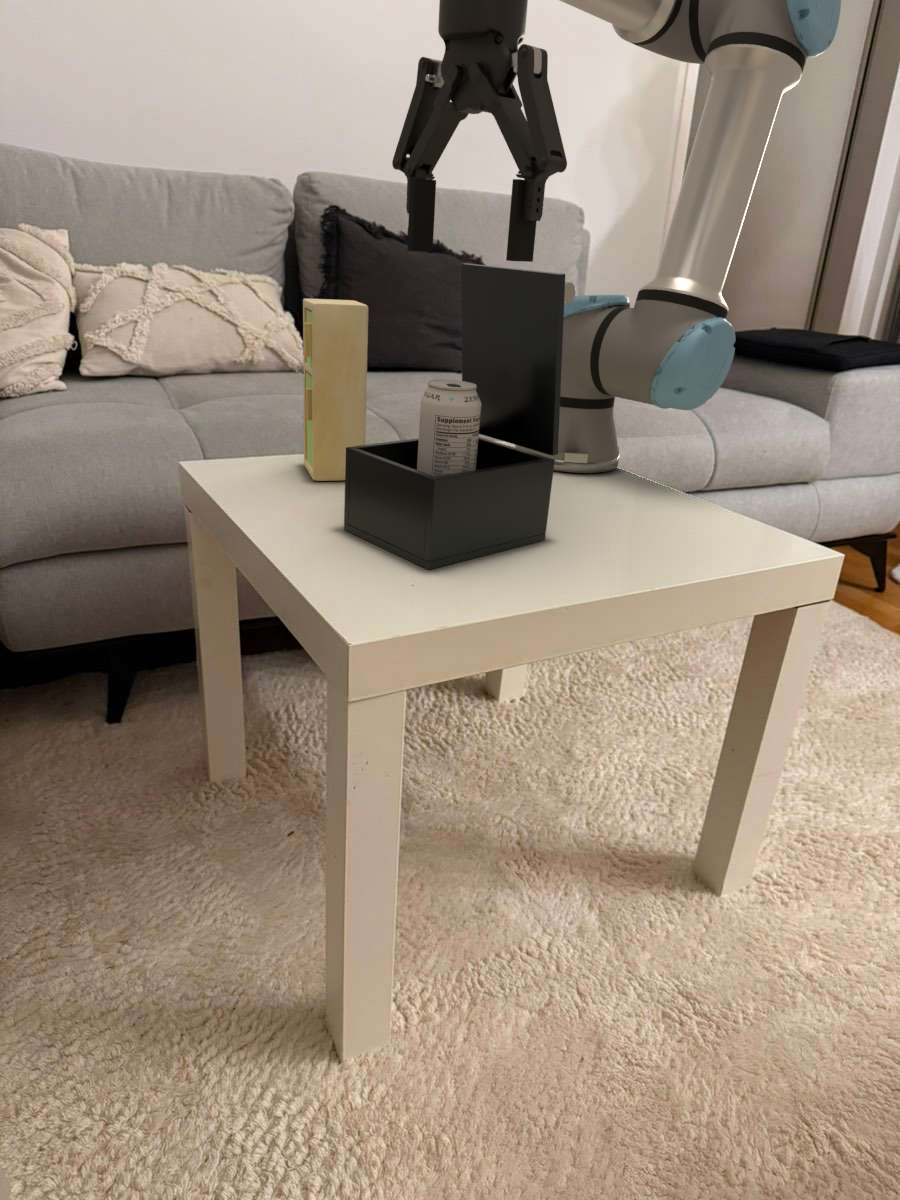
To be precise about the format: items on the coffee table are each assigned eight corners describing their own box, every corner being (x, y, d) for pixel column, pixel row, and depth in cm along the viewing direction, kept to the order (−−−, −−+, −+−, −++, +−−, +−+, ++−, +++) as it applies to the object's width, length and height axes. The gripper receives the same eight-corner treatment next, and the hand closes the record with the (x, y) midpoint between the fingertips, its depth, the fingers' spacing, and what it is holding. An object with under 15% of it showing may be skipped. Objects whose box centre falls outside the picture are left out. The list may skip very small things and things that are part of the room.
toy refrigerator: (297, 465, 112) (297, 296, 104) (352, 464, 114) (356, 299, 106) (306, 481, 105) (307, 302, 97) (364, 481, 107) (370, 305, 99)
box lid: (560, 274, 79) (603, 267, 83) (460, 263, 88) (503, 258, 92) (552, 456, 87) (592, 442, 91) (462, 429, 96) (501, 417, 100)
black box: (428, 570, 80) (434, 479, 77) (343, 529, 89) (345, 447, 86) (545, 540, 91) (555, 459, 87) (458, 506, 100) (464, 432, 96)
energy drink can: (459, 518, 93) (471, 379, 87) (478, 537, 88) (491, 389, 82) (406, 520, 91) (414, 377, 85) (422, 539, 86) (432, 388, 80)
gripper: (359, -4, 78) (355, 246, 86) (569, -49, 62) (539, 265, 70) (421, 13, 83) (411, 248, 91) (631, -25, 66) (595, 266, 75)
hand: (467, 256), depth 81 cm, fingers open, 13 cm apart
